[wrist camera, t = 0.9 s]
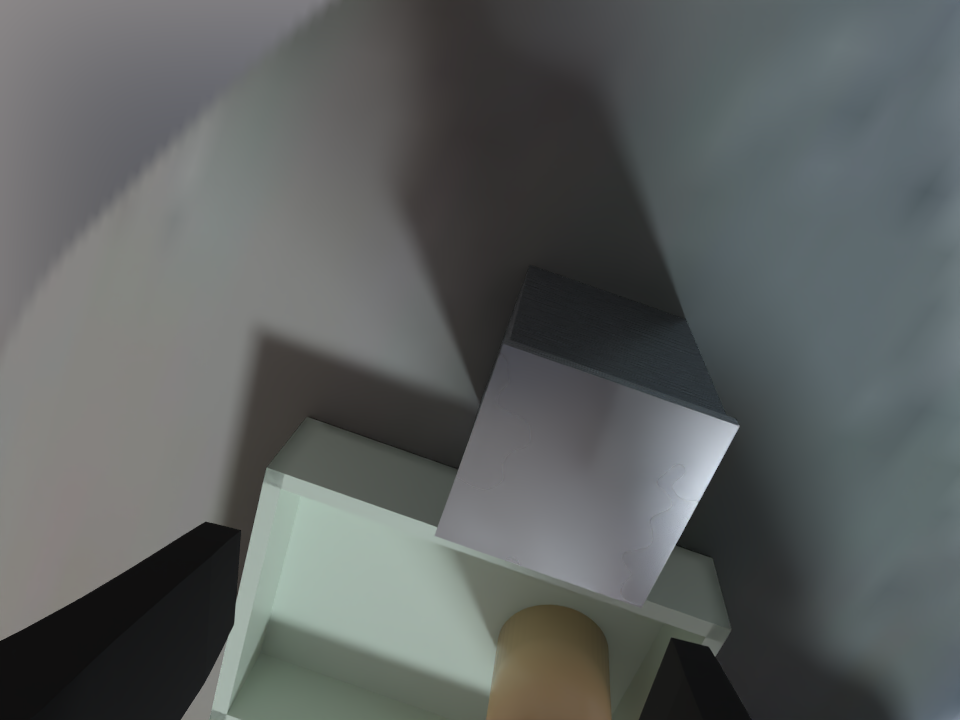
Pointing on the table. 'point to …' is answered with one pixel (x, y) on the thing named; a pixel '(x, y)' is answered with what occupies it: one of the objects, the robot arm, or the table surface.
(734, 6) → the table surface
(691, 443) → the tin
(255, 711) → the crate
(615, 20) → the table surface
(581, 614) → the jar
